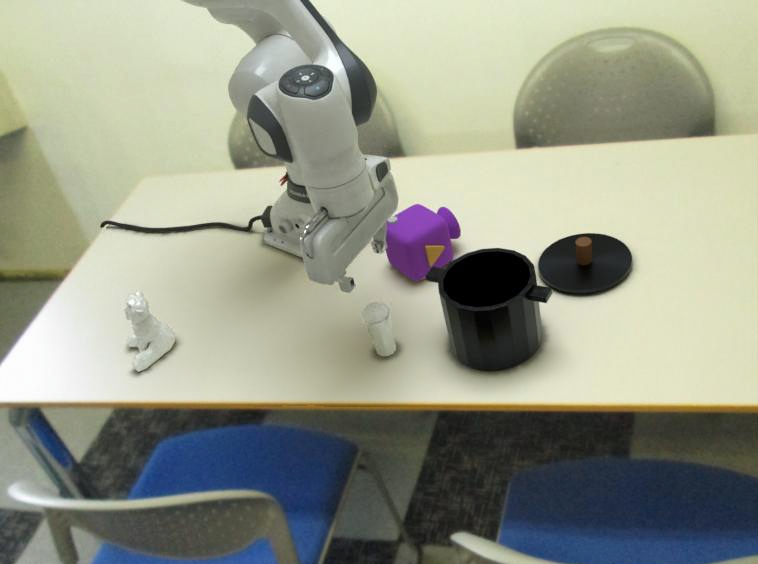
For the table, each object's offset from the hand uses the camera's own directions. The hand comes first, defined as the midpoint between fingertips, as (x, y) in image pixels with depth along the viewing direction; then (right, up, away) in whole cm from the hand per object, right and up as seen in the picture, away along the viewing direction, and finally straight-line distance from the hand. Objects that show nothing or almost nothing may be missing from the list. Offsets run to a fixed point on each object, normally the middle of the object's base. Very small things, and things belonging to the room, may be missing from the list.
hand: (365, 269), depth 120 cm
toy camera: (+10, +6, +27) cm, 30 cm away
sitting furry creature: (-39, -10, +24) cm, 47 cm away
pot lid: (+36, +4, +17) cm, 40 cm away
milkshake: (+3, -11, +12) cm, 17 cm away
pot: (+20, -10, +9) cm, 24 cm away
